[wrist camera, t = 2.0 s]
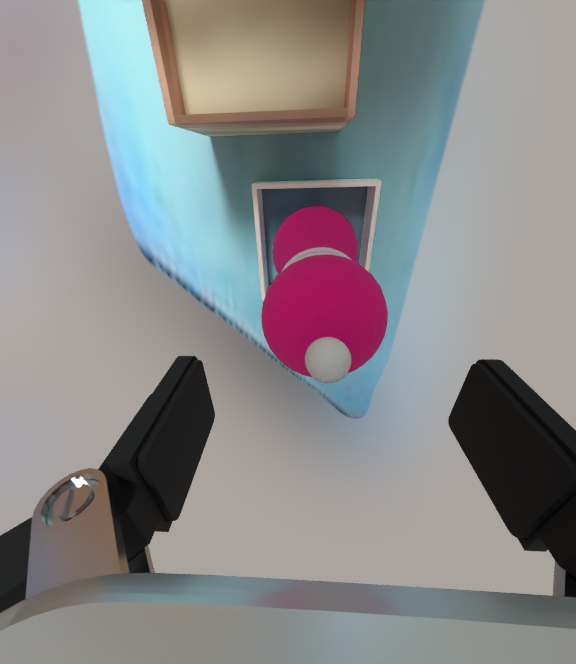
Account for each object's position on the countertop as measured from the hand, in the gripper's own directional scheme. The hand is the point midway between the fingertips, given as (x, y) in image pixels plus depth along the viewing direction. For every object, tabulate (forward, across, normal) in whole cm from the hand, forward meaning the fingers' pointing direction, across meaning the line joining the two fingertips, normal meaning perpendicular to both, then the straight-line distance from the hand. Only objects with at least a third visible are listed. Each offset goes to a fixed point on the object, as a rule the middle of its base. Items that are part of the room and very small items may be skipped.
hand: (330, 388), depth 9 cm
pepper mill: (+20, 0, -1) cm, 20 cm away
